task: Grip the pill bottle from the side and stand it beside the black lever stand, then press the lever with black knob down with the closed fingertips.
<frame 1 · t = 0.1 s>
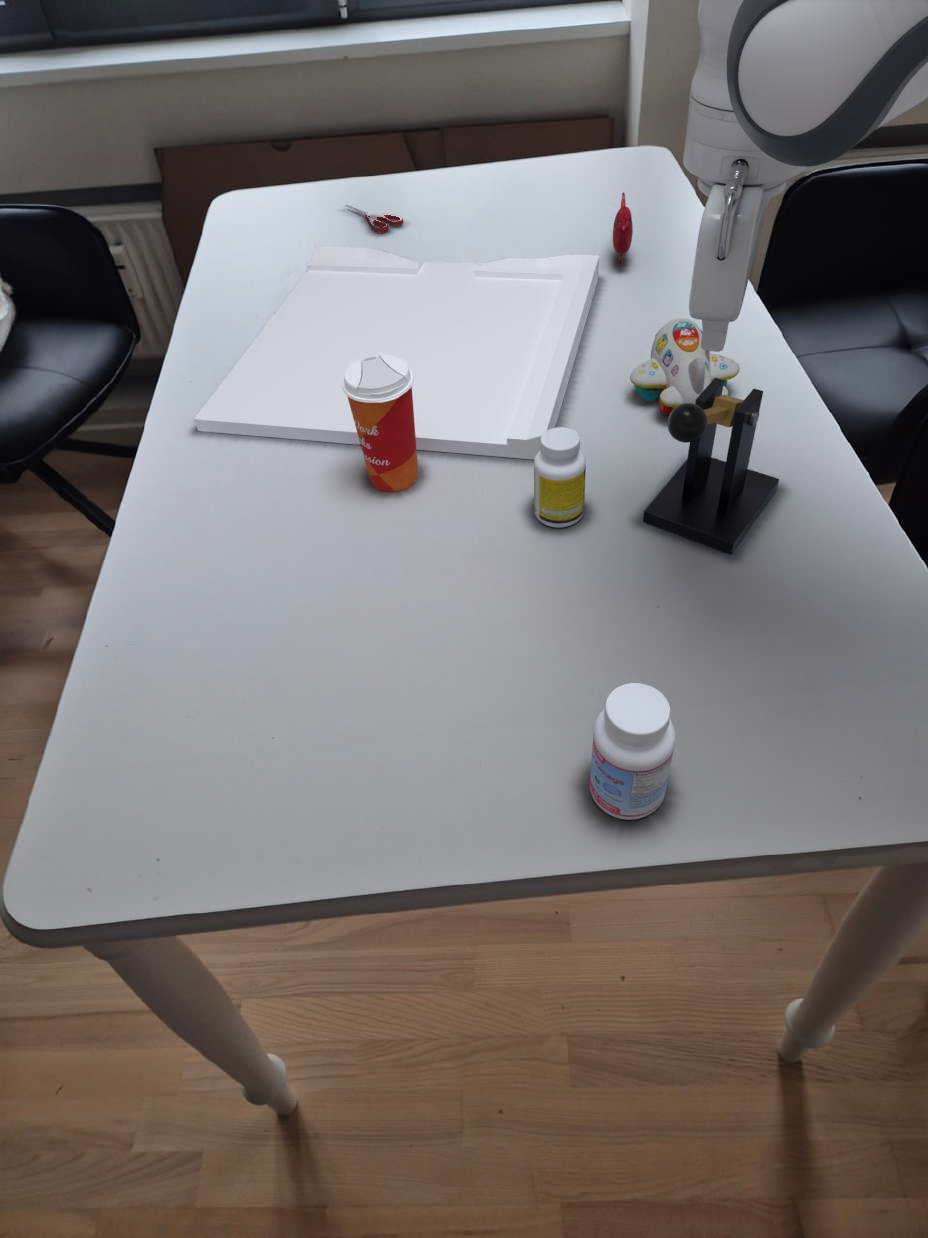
hand: (720, 317, 72), 25 cm above the table, tool pointing down, fingers open, 8 cm apart
toy airplane: (680, 396, 108), on the table
tray: (414, 350, 120), on the table
black lever stand: (710, 505, 93), on the table
pill bottle: (627, 791, 70), on the table
lever with black knob: (707, 416, 80), point 14 cm above the table, hinge at 25.0°
paper cup: (394, 478, 101), on the table
scissors: (369, 219, 151), on the table
decorative bird figurine: (620, 257, 134), on the table
supplement bottle: (559, 514, 94), on the table
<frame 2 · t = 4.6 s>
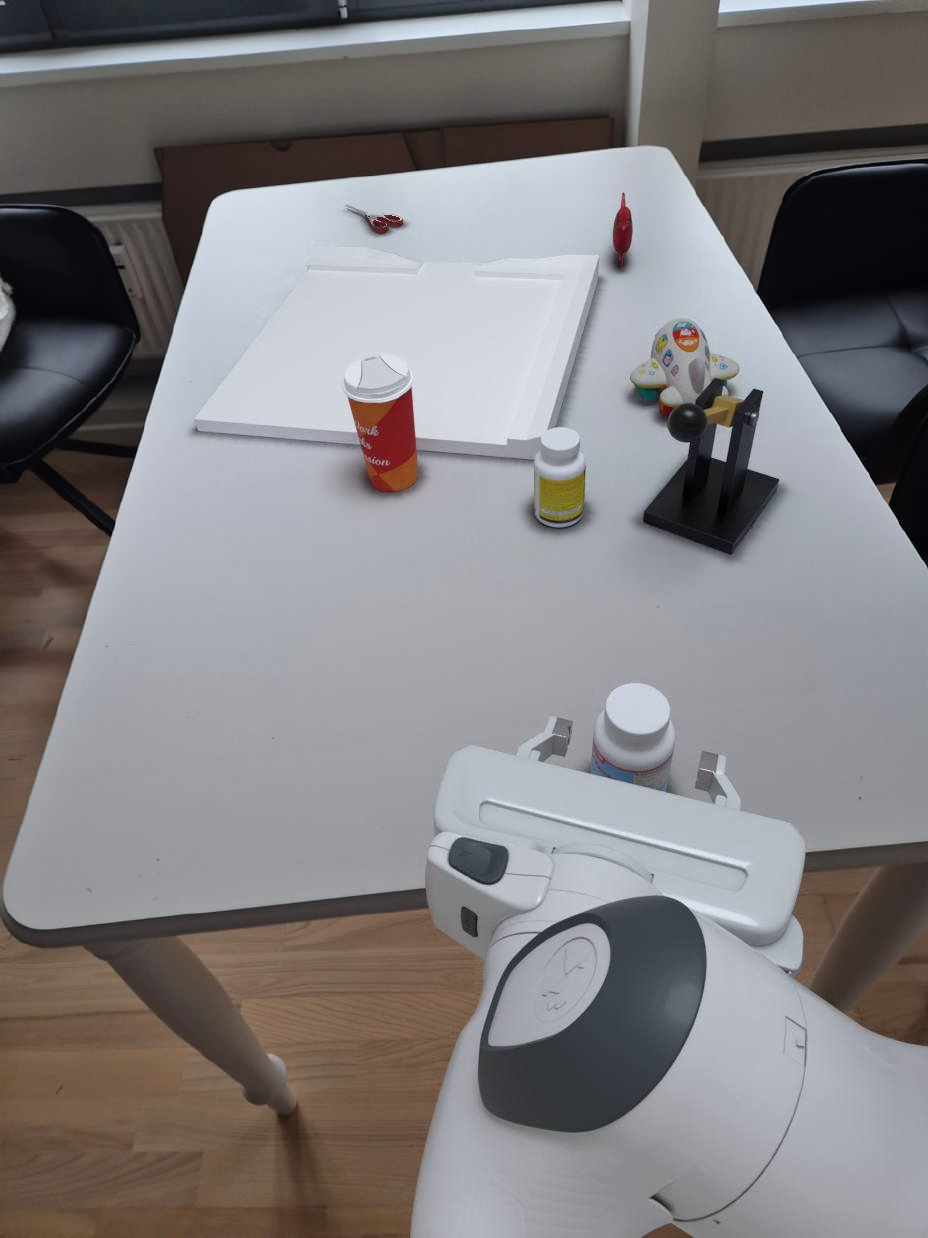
hand: (635, 742, 54), 17 cm above the table, tool horizontal, fingers open, 8 cm apart
nothing on the table moved.
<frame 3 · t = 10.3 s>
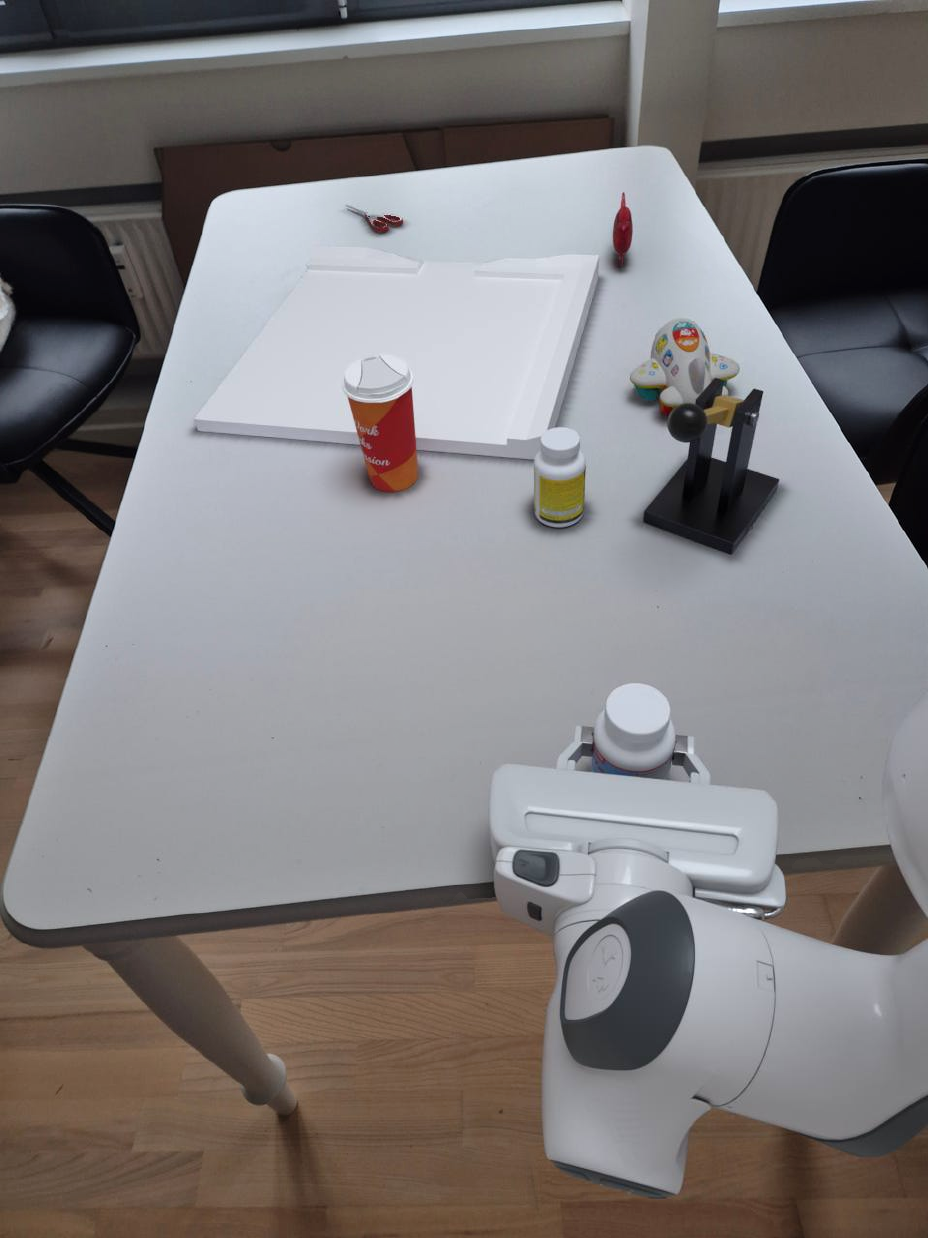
hand: (632, 735, 66), 7 cm above the table, tool horizontal, fingers closed on pill bottle, 6 cm apart
pill bottle: (627, 791, 70), on the table, touching gripper
everything else where it was.
when the fingers open (6 cm above the table, at t = 18.0 s): pill bottle stays where it is, on the table.
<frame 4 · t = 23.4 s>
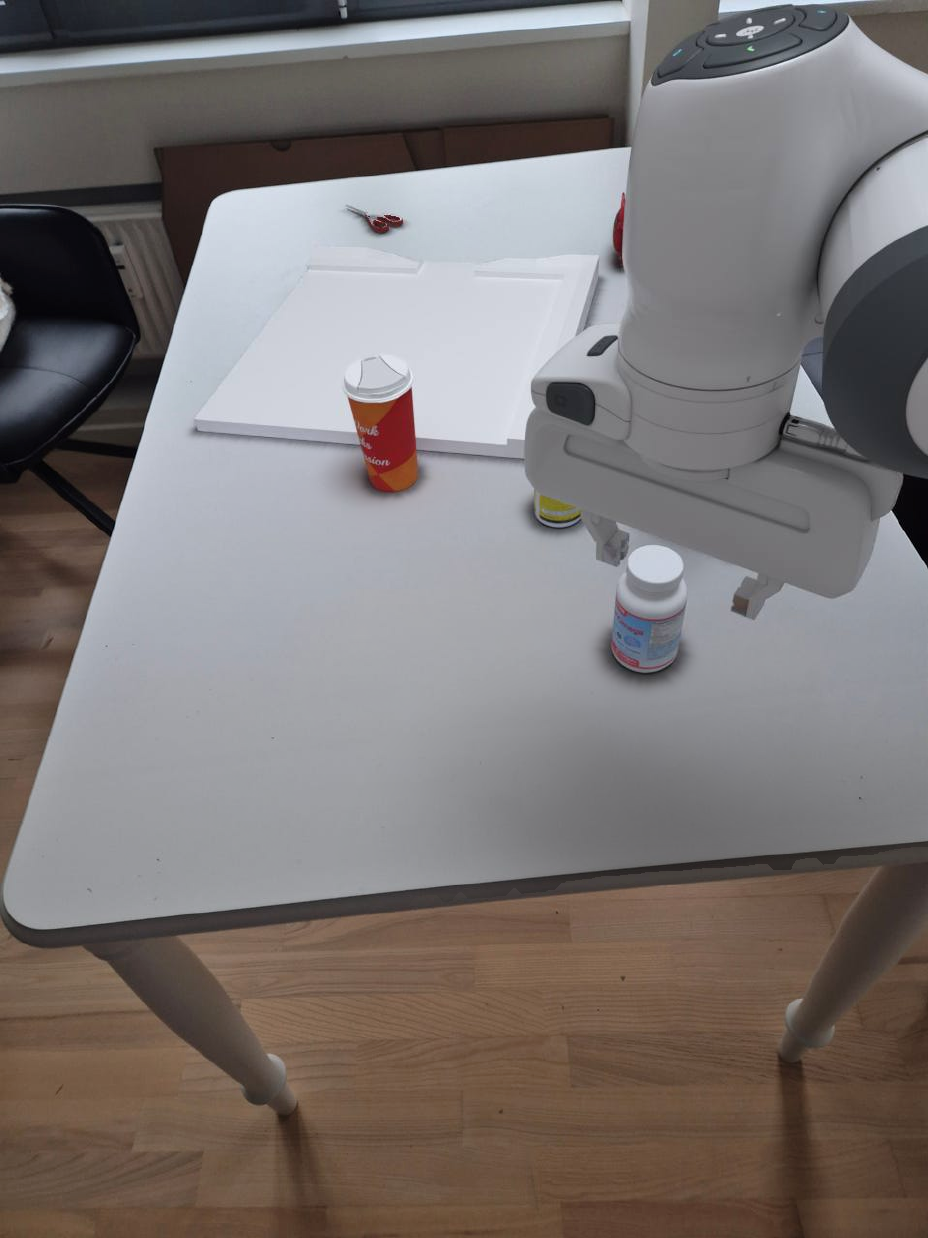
hand: (676, 582, 54), 23 cm above the table, tool pointing down, fingers open, 8 cm apart
pill bottle: (644, 651, 80), on the table
everything else where it was.
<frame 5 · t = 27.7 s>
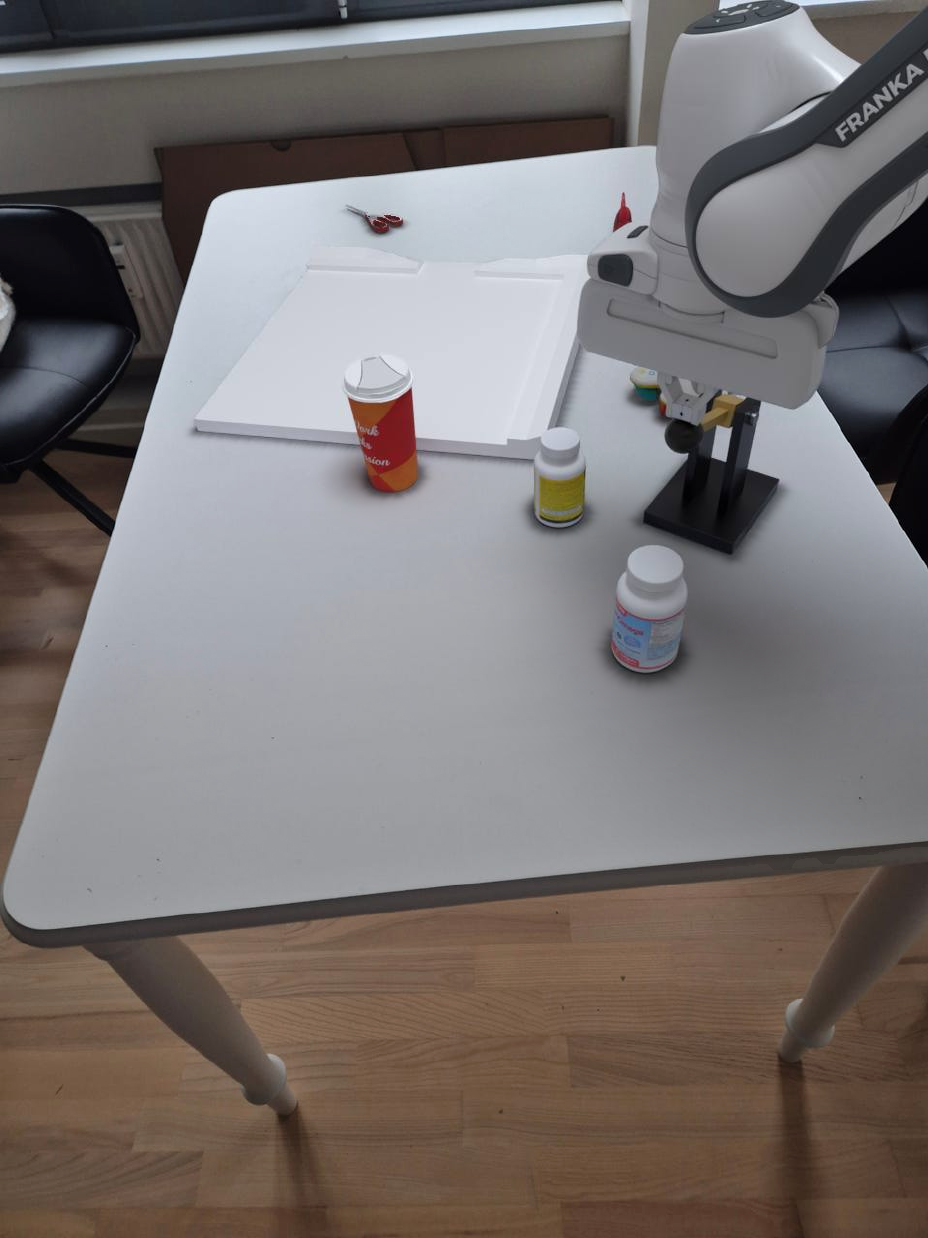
hand: (684, 417, 75), 17 cm above the table, tool pointing down, fingers closed, pressing on lever with black knob
lever with black knob: (705, 422, 80), point 14 cm above the table, hinge at 19.5°, touching gripper
everything else where it was.
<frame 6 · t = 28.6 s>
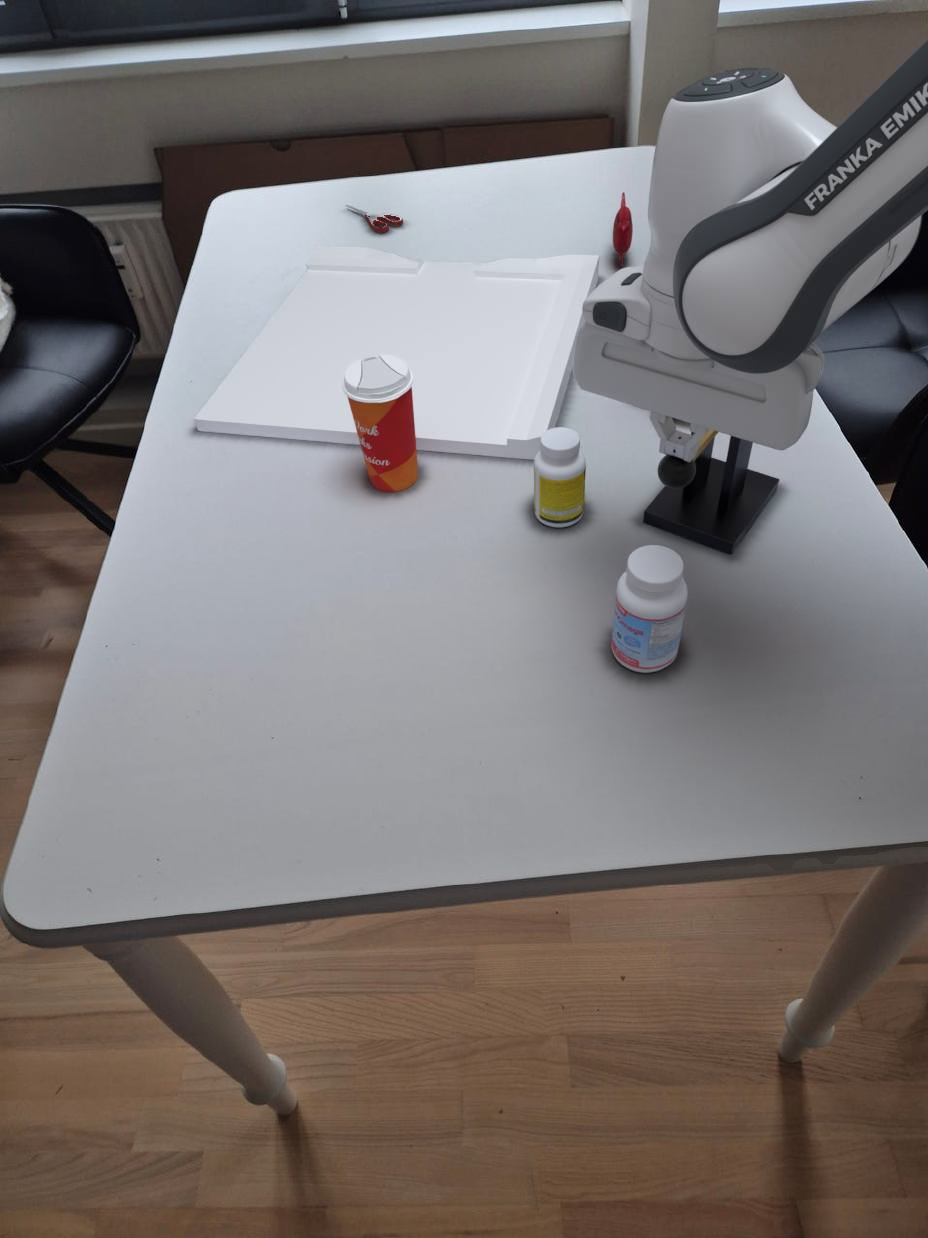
hand: (677, 454, 77), 14 cm above the table, tool pointing down, fingers closed
lever with black knob: (702, 440, 81), point 12 cm above the table, hinge at 0.7°, touching gripper
everything else where it was.
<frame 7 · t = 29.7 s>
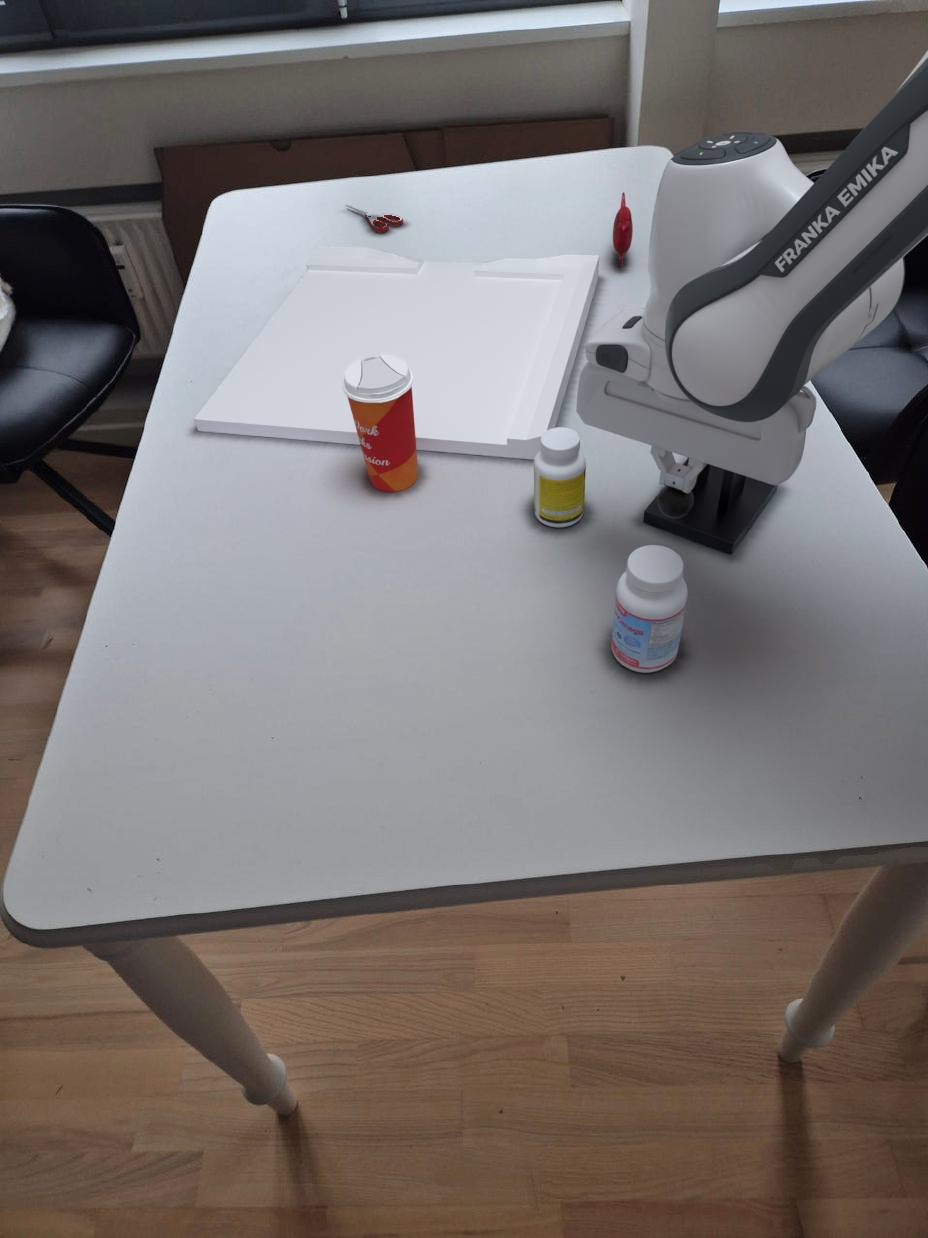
hand: (677, 485, 81), 10 cm above the table, tool pointing down, fingers closed, pressing on lever with black knob
lever with black knob: (700, 456, 83), point 10 cm above the table, hinge at -20.7°, touching gripper
everything else where it was.
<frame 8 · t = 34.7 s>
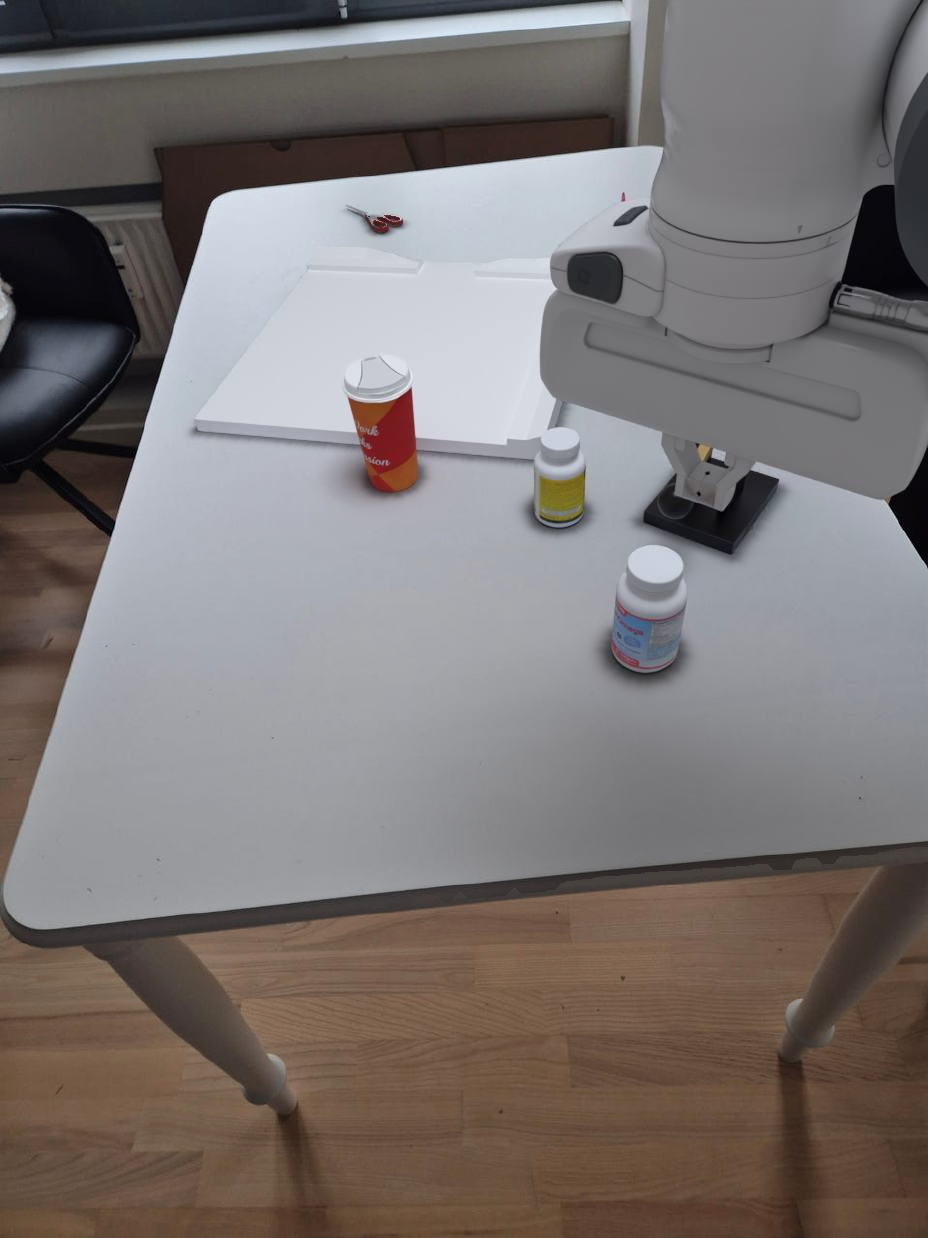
hand: (703, 497, 50), 29 cm above the table, tool pointing down, fingers closed
lever with black knob: (700, 456, 83), point 10 cm above the table, hinge at -21.4°
everything else where it was.
at the end: pill bottle inside the target area on the table beside the black lever stand (0.1 cm from its centre), on the table; pill bottle tilted 0°; lever with black knob at -21° (first picture: +25°) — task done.
